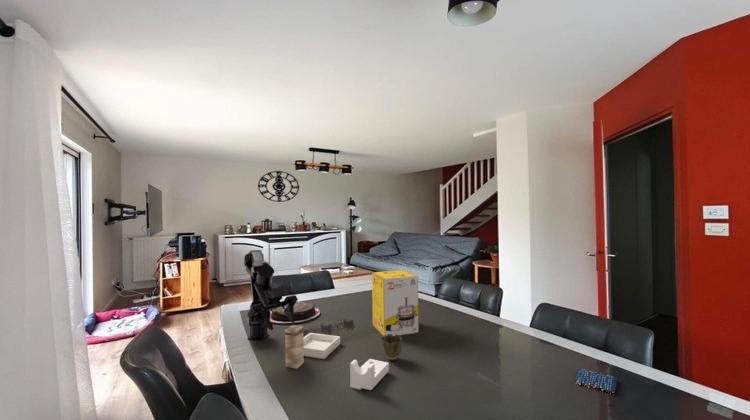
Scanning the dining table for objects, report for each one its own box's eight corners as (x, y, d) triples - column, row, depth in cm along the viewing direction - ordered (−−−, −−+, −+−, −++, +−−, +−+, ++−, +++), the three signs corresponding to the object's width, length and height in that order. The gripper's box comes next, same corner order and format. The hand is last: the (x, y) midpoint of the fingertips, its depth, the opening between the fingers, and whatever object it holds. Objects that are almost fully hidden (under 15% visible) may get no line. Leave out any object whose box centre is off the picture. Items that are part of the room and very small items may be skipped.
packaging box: (404, 320, 156) (403, 270, 157) (418, 332, 141) (417, 276, 141) (372, 324, 151) (372, 272, 152) (384, 337, 136) (383, 279, 136)
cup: (404, 356, 118) (404, 334, 118) (399, 365, 111) (399, 342, 111) (385, 353, 120) (385, 332, 120) (379, 362, 113) (379, 339, 113)
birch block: (285, 366, 111) (284, 329, 111) (292, 360, 115) (292, 325, 115) (296, 368, 109) (296, 330, 110) (303, 362, 114) (303, 326, 114)
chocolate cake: (279, 307, 182) (279, 296, 183) (326, 309, 179) (326, 297, 179) (254, 324, 155) (254, 311, 155) (309, 326, 151) (309, 313, 151)
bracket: (370, 393, 94) (370, 367, 94) (350, 387, 97) (350, 363, 98) (388, 373, 106) (388, 350, 106) (370, 369, 109) (369, 347, 109)
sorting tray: (291, 354, 121) (291, 346, 121) (310, 339, 134) (309, 332, 134) (324, 358, 116) (324, 350, 116) (340, 343, 130) (340, 336, 130)
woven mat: (577, 372, 105) (576, 366, 105) (617, 382, 99) (617, 376, 99) (572, 385, 97) (572, 379, 97) (615, 398, 91) (615, 391, 91)
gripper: (251, 282, 112) (269, 320, 105) (294, 274, 127) (313, 306, 120) (240, 301, 117) (257, 338, 110) (283, 291, 132) (300, 323, 125)
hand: (283, 325), depth 116 cm, fingers open, 9 cm apart
